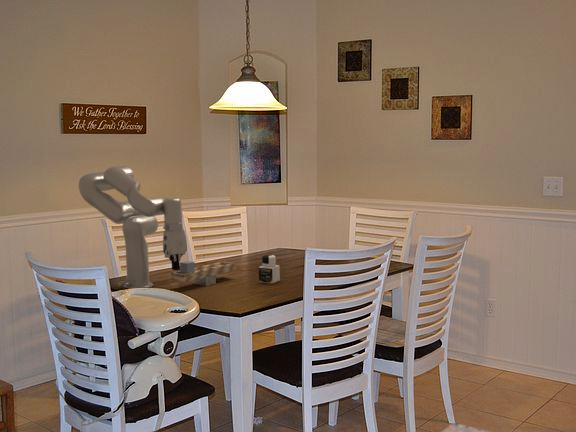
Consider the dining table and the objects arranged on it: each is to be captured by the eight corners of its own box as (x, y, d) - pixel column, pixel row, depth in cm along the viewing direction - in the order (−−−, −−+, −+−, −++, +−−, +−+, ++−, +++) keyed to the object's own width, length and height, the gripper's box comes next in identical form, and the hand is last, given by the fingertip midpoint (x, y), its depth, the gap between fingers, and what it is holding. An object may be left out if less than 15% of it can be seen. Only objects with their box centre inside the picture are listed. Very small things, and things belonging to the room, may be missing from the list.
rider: (187, 275, 307) (187, 263, 306) (180, 273, 310) (179, 262, 309) (195, 273, 310) (194, 262, 310) (188, 272, 313) (187, 261, 312)
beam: (183, 282, 303) (183, 274, 303) (171, 280, 308) (171, 272, 308) (235, 270, 328) (235, 262, 327) (223, 268, 333) (223, 260, 332)
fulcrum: (206, 286, 313) (206, 277, 313) (193, 283, 318) (193, 275, 318) (216, 283, 318) (215, 274, 317) (203, 281, 323) (203, 272, 323)
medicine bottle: (258, 282, 319) (258, 256, 318) (266, 279, 325) (265, 253, 324) (272, 283, 316) (272, 257, 314) (280, 280, 322) (279, 254, 320)
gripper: (166, 230, 294) (168, 273, 296) (192, 225, 305) (194, 267, 307) (154, 229, 298) (156, 272, 300) (180, 224, 310) (183, 266, 312)
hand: (175, 269), depth 304 cm, fingers closed
